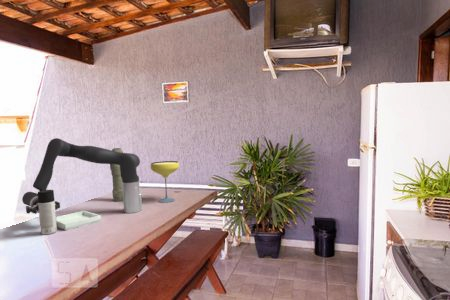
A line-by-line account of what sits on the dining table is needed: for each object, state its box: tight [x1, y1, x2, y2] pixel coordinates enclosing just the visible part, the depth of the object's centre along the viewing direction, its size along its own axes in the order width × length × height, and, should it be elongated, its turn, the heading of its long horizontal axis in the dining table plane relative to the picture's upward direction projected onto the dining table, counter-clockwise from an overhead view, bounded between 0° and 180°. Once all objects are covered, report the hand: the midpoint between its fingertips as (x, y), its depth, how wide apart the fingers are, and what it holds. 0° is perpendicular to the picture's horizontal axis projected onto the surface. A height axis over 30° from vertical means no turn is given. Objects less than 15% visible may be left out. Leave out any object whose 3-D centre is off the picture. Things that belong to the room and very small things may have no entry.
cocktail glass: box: [150, 160, 180, 204], centre depth 204 cm, size 18×18×25 cm
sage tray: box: [56, 210, 102, 231], centre depth 162 cm, size 18×18×3 cm
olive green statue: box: [109, 147, 124, 203], centre depth 210 cm, size 9×12×35 cm
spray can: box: [37, 189, 58, 236], centre depth 147 cm, size 7×7×20 cm
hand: (46, 209), depth 149 cm, fingers open, 8 cm apart
